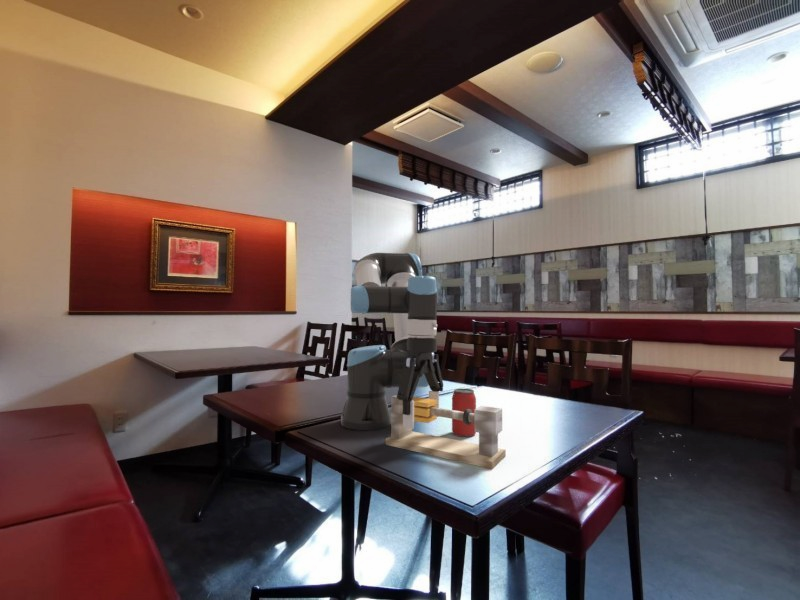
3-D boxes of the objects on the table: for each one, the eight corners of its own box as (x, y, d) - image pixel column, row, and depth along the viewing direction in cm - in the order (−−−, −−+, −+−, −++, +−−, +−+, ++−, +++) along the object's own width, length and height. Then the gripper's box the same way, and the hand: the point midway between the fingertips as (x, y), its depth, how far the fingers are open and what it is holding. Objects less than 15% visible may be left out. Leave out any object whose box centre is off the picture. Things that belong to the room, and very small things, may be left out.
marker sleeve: (406, 419, 97) (406, 400, 97) (416, 415, 101) (416, 396, 101) (427, 423, 94) (427, 403, 94) (436, 418, 98) (436, 399, 98)
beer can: (447, 431, 109) (447, 389, 109) (467, 429, 111) (467, 387, 112) (460, 438, 103) (460, 393, 103) (480, 435, 105) (480, 391, 106)
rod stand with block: (385, 444, 98) (385, 397, 98) (404, 435, 105) (404, 391, 106) (492, 469, 82) (492, 412, 83) (505, 456, 90) (505, 404, 91)
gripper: (409, 339, 86) (409, 436, 85) (455, 335, 106) (455, 413, 106) (382, 338, 90) (381, 431, 89) (431, 334, 110) (431, 409, 110)
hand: (421, 421), depth 97 cm, fingers open, 12 cm apart
